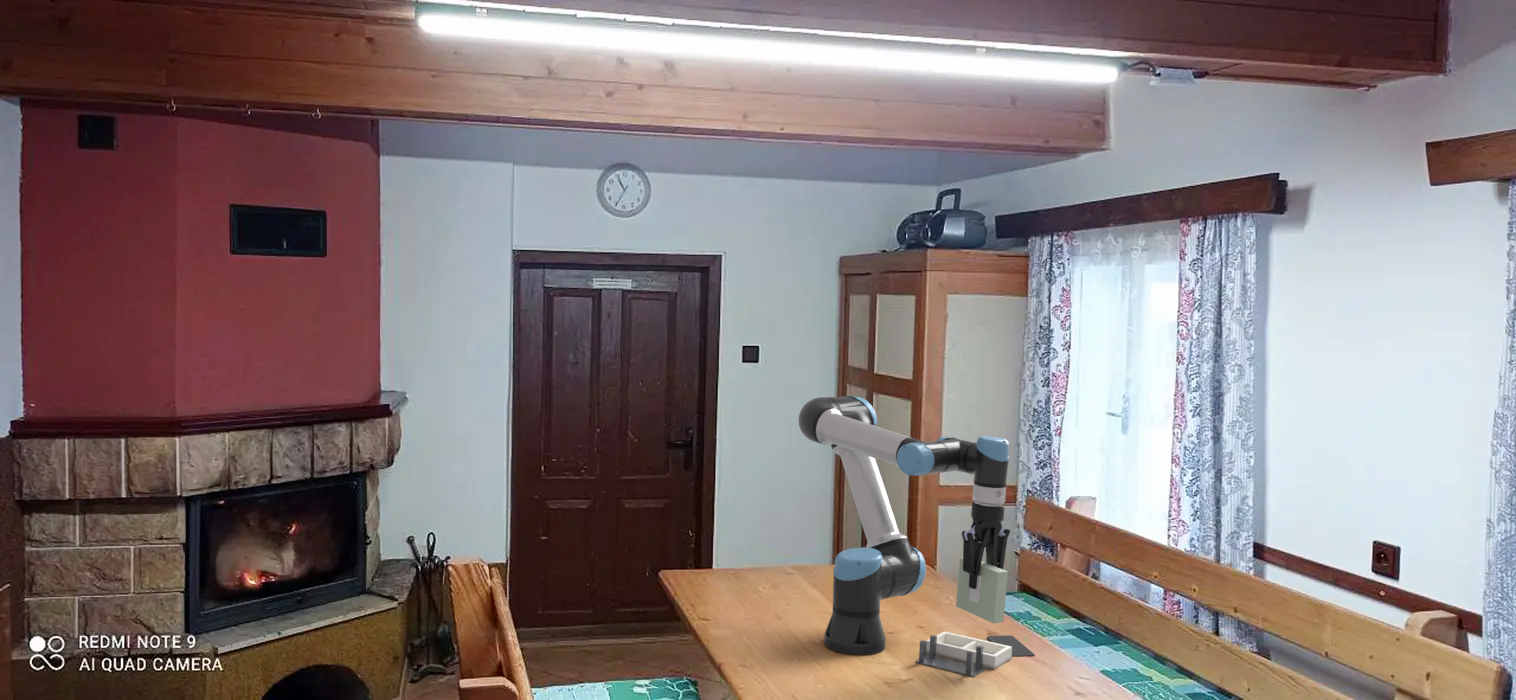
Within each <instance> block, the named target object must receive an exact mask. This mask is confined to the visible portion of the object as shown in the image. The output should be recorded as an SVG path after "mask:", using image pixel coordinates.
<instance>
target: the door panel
mask: <svg viewBox="0 0 1516 700" xmlns="http://www.w3.org/2000/svg"><path fill="white" fill-rule="evenodd" d="M958 569H959V570H958V578H957V579H958V580H957V589H956V590H957V591H956V603H955V607H956V608H959V609H961V610H963V611H965V612H967V613H970V614H972V615H975V616H977V617H978V618H981V619H984V621H985V620H986V621H988V622H990V623H992V624H1000V623H1004V619H1005V609H1006V595H1007V588H1008V587H1007V586H1008V575H1009V571H1007V570H1006V569H1004V568H1003V569H1000V568H998V567H995V566H993V565H990V564H987V563H986V562H984V561H982V562H981V567H980V572H979V575H980V576H982V578H981V590H980V602H979V603H975V602H972V601H970V600H969V596H970V587H969V573H967V572H965V571H963V556H962V557H960V558H959V567H958ZM974 570H975V569H974Z"/></svg>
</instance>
